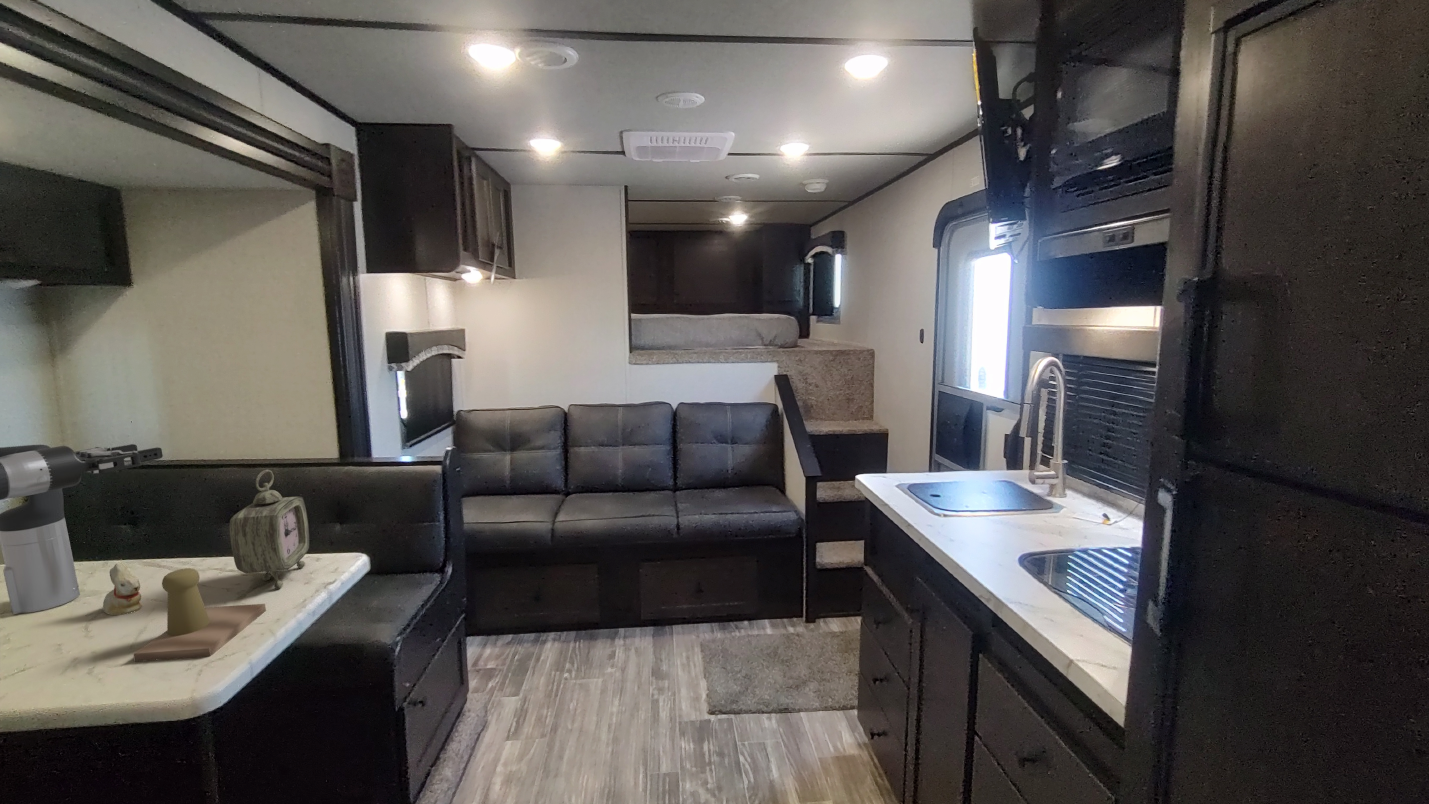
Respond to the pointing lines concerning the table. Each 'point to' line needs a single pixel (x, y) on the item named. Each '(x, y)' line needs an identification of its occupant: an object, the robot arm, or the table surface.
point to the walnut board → (203, 634)
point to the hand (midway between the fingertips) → (148, 450)
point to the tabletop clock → (270, 533)
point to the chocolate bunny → (122, 592)
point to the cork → (184, 602)
